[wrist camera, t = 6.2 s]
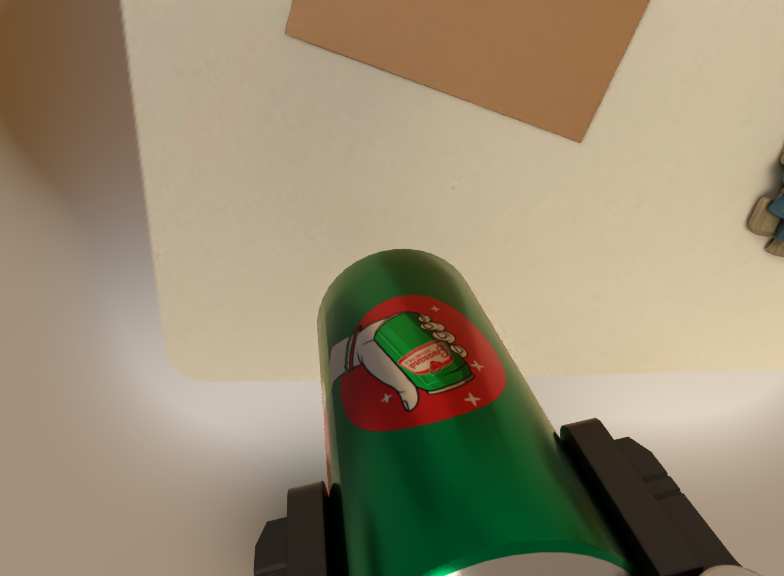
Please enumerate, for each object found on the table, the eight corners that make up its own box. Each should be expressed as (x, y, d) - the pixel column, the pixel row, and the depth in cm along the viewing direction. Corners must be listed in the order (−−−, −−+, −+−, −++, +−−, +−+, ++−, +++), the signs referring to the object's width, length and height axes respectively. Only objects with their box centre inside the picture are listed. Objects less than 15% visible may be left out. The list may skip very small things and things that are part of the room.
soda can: (428, 391, 20) (571, 820, 10) (293, 352, 19) (293, 816, 8) (496, 272, 18) (765, 642, 8) (353, 217, 17) (452, 590, 6)
